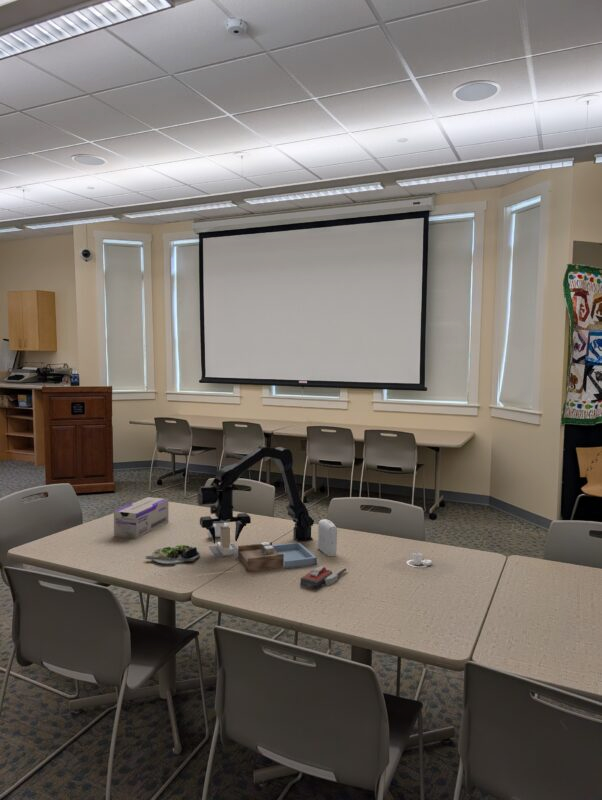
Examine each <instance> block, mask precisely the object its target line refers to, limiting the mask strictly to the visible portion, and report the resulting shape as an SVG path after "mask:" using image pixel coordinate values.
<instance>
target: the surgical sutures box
mask: <svg viewBox="0 0 602 800" xmlns="http://www.w3.org/2000/svg"><path fill="white" fill-rule="evenodd" d="M167 522H168V523H169V522H170V521H169V498H160V497H149V496H147V497H145V498H143V499H142V498H141V499H140V500H137V501H135V502H132V503H130V504H128V505H125V506H123V507H119V508H118V509H116V510H114V511H113V537H120V538H121V537H122V538H128V539H135V540H136V539H139V538H141V537H142V536H145V535H147V534H148V533H150V532H153V531H154V530H156V529H158V528H160V527H162V526H163V524H164V525H166V524H167ZM165 523H166V524H165ZM161 525H162V526H161Z"/></svg>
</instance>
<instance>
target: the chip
mask: <svg viewBox="0 0 602 800" xmlns="http://www.w3.org/2000/svg"><path fill="white" fill-rule="evenodd" d="M259 544H260V551H261V552H262V553H264V546H270V543H269V542H268V541H263V542H260V543H259Z"/></svg>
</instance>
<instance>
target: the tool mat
mask: <svg viewBox="0 0 602 800" xmlns="http://www.w3.org/2000/svg"><path fill="white" fill-rule="evenodd" d="M230 545H231V547H232V548H233V554H232V555H224V556H223V555H222V553H221V552H220V551H219V549H218V548H217V545H211V546H208V548H209V550H210V551H211V553H212V554H213V555H214V557H215V558H216V559H219V558H225V557H226V558H227V557H229V558H230V557H235V556H237V557H238V547H237V546H236V545H235V543H232V544H231V543H230Z"/></svg>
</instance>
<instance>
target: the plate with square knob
mask: <svg viewBox="0 0 602 800" xmlns="http://www.w3.org/2000/svg"><path fill="white" fill-rule="evenodd" d="M219 538H220V540H219V541H217V542H216V546H217V548H218V549H219V551H220V552H221V553H222V555H223V556H224V555H232V554H233V548H232V547H231V545H230V544H231V527H230V526H225V527H220V537H219Z"/></svg>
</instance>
